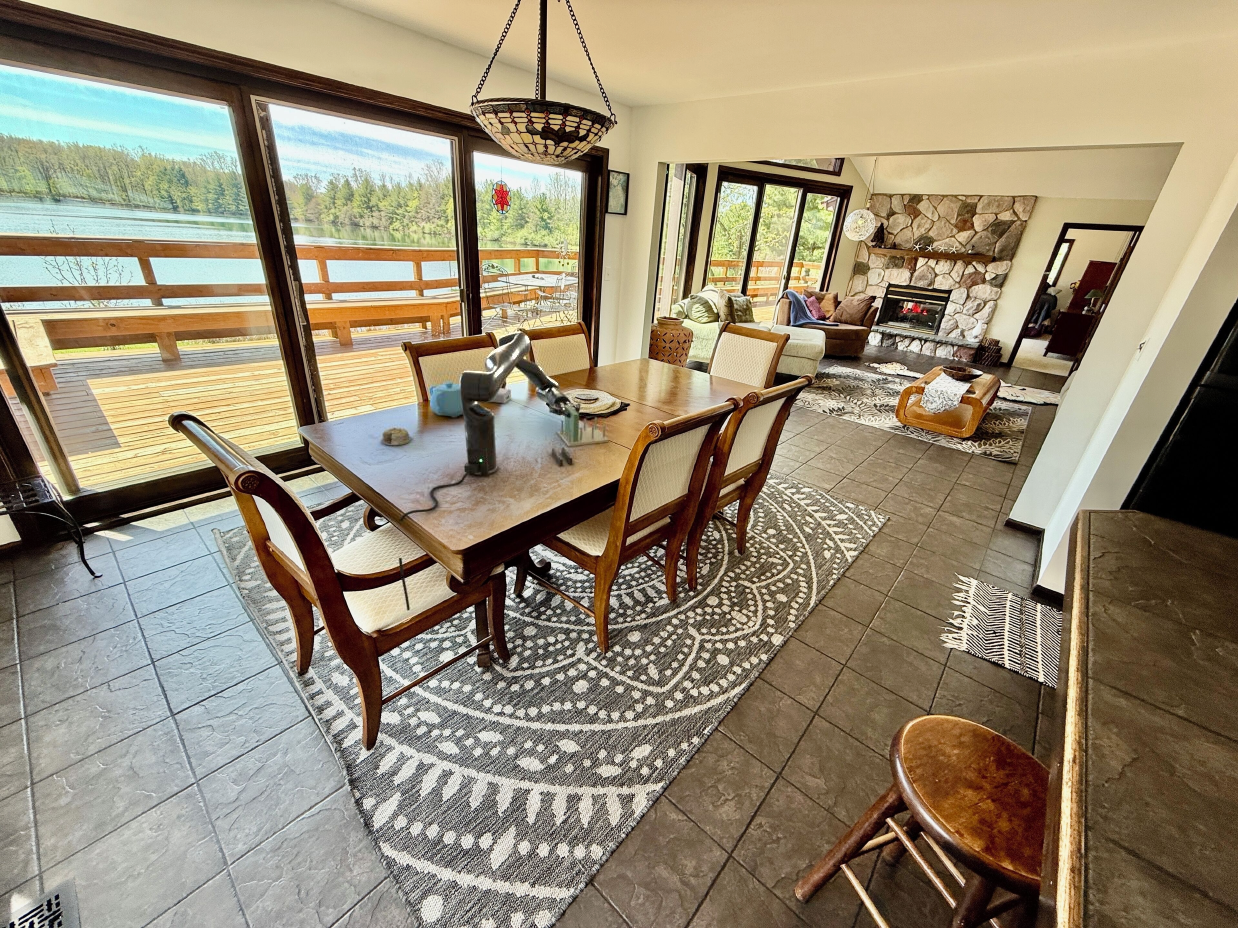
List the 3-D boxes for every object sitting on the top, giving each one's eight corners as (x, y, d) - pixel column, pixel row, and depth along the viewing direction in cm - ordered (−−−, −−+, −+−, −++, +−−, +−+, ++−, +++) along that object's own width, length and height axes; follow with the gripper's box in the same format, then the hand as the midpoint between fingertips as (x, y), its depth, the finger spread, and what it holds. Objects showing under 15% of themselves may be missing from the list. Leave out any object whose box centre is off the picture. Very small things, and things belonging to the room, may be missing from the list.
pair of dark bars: (572, 464, 168) (572, 458, 167) (560, 466, 166) (560, 459, 165) (563, 453, 176) (563, 447, 175) (551, 454, 175) (551, 448, 174)
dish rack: (608, 441, 189) (609, 427, 186) (568, 446, 182) (569, 431, 180) (595, 429, 200) (596, 415, 197) (557, 433, 194) (557, 419, 191)
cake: (399, 434, 183) (398, 421, 181) (416, 441, 179) (416, 428, 177) (375, 440, 175) (374, 426, 173) (393, 448, 171) (392, 433, 169)
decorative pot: (469, 405, 216) (467, 376, 211) (473, 417, 203) (471, 386, 197) (430, 408, 210) (427, 378, 205) (432, 420, 197) (429, 388, 191)
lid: (578, 441, 185) (579, 414, 180) (573, 441, 184) (574, 414, 179) (569, 430, 194) (569, 405, 189) (564, 431, 193) (564, 405, 188)
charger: (481, 395, 231) (511, 398, 229) (473, 400, 223) (504, 404, 221) (480, 385, 229) (510, 388, 227) (472, 390, 221) (503, 394, 219)
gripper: (542, 394, 194) (555, 407, 180) (574, 391, 199) (589, 404, 185) (542, 411, 197) (555, 426, 183) (574, 408, 203) (589, 423, 188)
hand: (572, 415), depth 184 cm, fingers closed on lid, 2 cm apart
